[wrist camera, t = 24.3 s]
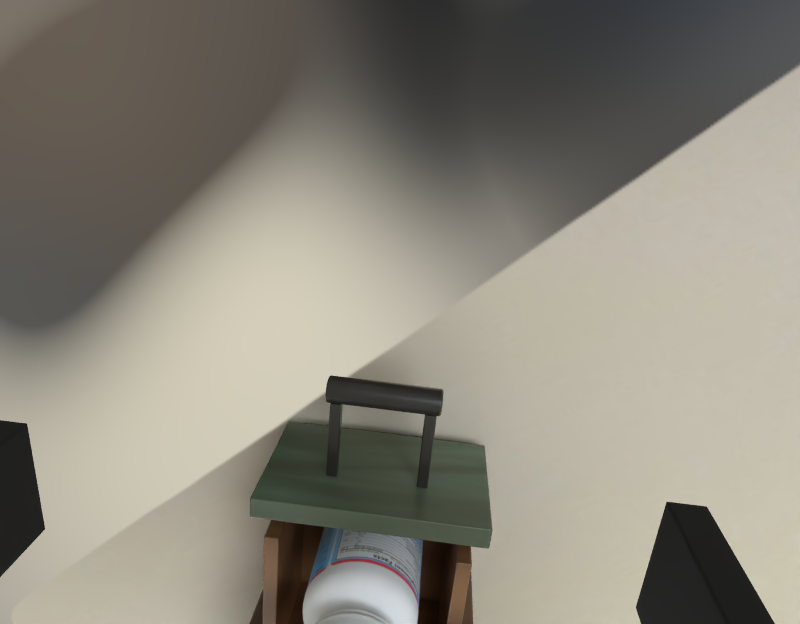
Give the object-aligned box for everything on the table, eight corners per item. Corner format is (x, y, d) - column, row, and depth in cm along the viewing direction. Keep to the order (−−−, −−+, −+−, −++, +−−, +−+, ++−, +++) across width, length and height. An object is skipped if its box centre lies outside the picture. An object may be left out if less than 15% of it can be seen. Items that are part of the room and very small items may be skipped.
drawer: (291, 334, 36) (250, 395, 29) (498, 359, 35) (510, 428, 28) (283, 575, 42) (248, 676, 35) (459, 599, 42) (460, 706, 34)
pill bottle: (369, 567, 40) (340, 735, 29) (311, 503, 39) (259, 655, 28) (443, 526, 38) (440, 688, 28) (386, 458, 37) (360, 602, 26)
